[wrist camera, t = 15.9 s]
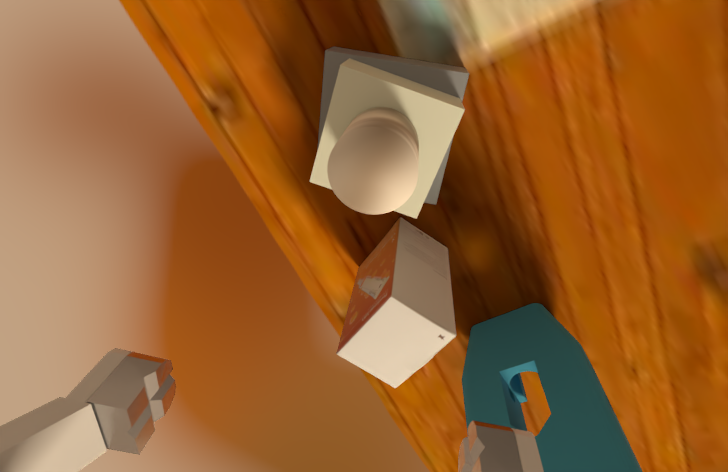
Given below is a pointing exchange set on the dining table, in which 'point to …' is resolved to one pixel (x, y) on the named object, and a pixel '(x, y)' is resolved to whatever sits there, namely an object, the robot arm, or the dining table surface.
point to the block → (561, 386)
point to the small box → (399, 306)
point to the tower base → (411, 69)
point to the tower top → (383, 89)
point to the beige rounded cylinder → (375, 161)
